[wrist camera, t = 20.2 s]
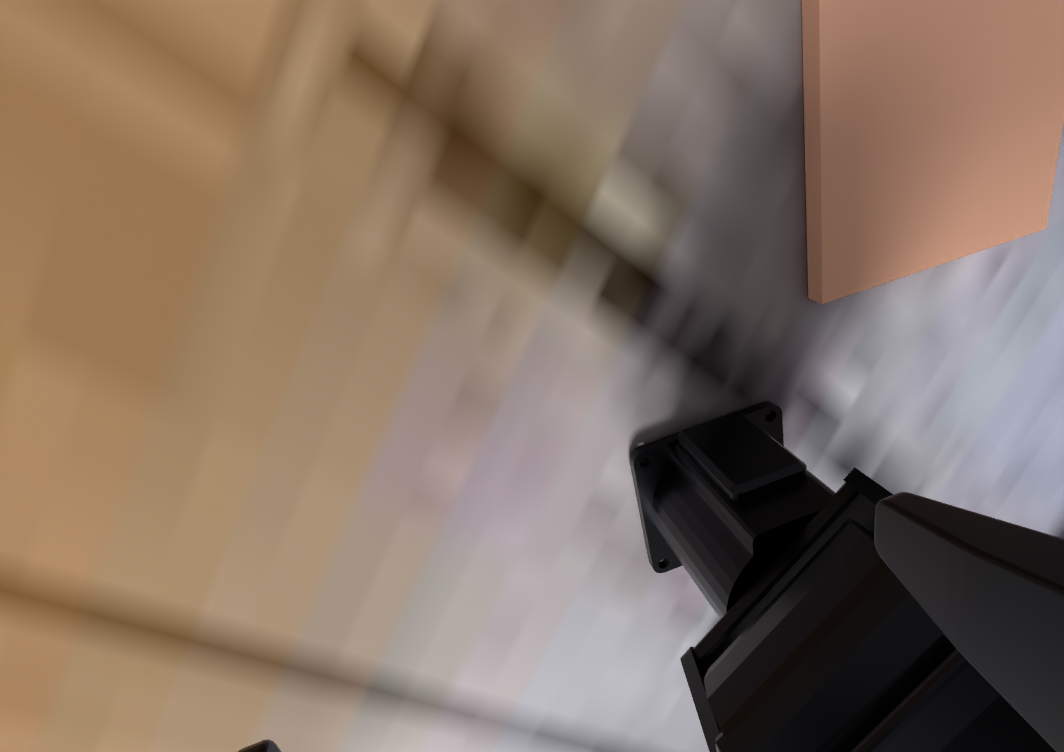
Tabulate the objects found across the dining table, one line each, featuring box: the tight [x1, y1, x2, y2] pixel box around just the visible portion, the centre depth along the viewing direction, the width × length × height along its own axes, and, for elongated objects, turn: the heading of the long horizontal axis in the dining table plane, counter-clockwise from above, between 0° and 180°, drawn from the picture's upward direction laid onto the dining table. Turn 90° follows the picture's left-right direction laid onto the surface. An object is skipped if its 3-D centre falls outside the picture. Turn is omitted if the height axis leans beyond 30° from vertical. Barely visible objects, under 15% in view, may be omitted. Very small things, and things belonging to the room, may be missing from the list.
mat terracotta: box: [802, 0, 1064, 304], centre depth 21 cm, size 10×10×1 cm
